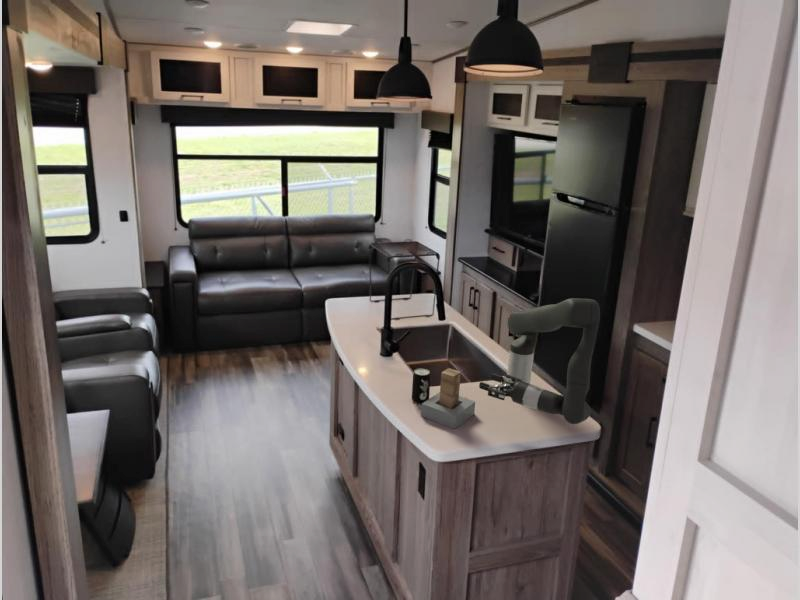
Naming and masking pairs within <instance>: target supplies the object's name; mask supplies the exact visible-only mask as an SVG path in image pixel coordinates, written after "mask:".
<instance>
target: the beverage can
mask: <svg viewBox="0 0 800 600" xmlns="http://www.w3.org/2000/svg"><path fill="white" fill-rule="evenodd" d="M431 378H432V377H431V374H430V370H429V369H427V368H426V369H425V368H421V367H420V368H416V369H414V370H413V374H412V383H411V384H412V388H411V401H412V402H413V403H415V404H419V405H422V403H424V402H425V401H427V400H428V399H430V394H431V393H430V391H431Z"/></svg>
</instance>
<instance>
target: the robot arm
mask: <svg viewBox="0 0 800 600" xmlns="http://www.w3.org/2000/svg"><path fill="white" fill-rule="evenodd" d="M600 318H601V310H600V304H599V302H598V301H597V300H595V299H592V298H577V297H576V298H575V297H572V298H567V299H565V300H562V301H560V302H558V303H556V304H553V303H552V304H546V305H542V306H539V307H535V308H531V309H529V310H520V311H519V310H518V311H517V310H516V311H513V312H512V313H511V314H509V316H508V318H507V328H508V330H509V332H510V333H511V334H512V335H514V336H519V337H518V338H516V339H515V340H512V342H511V343H510V346H509V354H508V355H509V356H508V364H507V373H506V375H502V376H501V375H499V374H496V373H492V374H491V378H490V379H491V381H494V382H497V383H496V384H495V385H494V384H489V383H486V382H483V381H481V382H479V385H478V387H479V388H478V389H481V390H484V391H487V396H488V397H491V398H494V399H496V400H497V399H498V400H500V401H505V399H506V397H509V398H510V399H511V401H512V403H513V402H514V403H516V404H519V405H521V406H524V407H527V408H530V409H533V410H538V411H540V412H543V413H546V414H550V415H560V416H562V417H563V419H564V420H565V421H566V422H567V423H568V424H571V425H578V424H580V423H583V422H584V421H586V420H587V419H589V418H590V416H591V412H592V411H591V407H590V406H589V404H588V403H587V402H586V397H587V393H588V392H589V390H590V383H591V382H590V380H591V367H592V366H591V365H592V360H593V359H592V358H593V353H594V348H595V344H596V340H597V335H598V330H599V325H600ZM562 327H569V328H582V330H583V332H582V337H581V340H580V343H579V344H578V346H577V348H576V349H575V351H574V353H573V354H572V356H571V357H570V359H569V362H568V364H567V370H566V371H567V372H566V389H565V393H564V395H562V394H558V393H556V392H553V391H550V390H548V389H545V388H542V387H541V386H538V385H535V384H532V383H531V380H532V370H533V362H534V356H535V355H534V353H535V348H536V346H537V341H538V336H539V333H548V332H549V333H550V332H555V331H557V330H560V329H561V328H562ZM499 383H500V384H499Z"/></svg>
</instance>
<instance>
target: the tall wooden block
mask: <svg viewBox="0 0 800 600" xmlns="http://www.w3.org/2000/svg"><path fill="white" fill-rule="evenodd" d="M440 375H441V376H440V386H439V388H440V389H439V392H440V399H439V405H441V406H444V407H446V408H449V409H452V410H453V409H454V408H455V407H457V406H458V400H459V396H460V385H461V371H459V370H456V369H453V368H450V367H448V368H446V369H445V370H443V371H441V374H440Z"/></svg>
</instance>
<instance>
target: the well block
mask: <svg viewBox="0 0 800 600" xmlns="http://www.w3.org/2000/svg"><path fill="white" fill-rule="evenodd" d="M439 399H440V391H439V392H437V393H436V394H435V395H433V396H431V397H429V399H428V400H427V401H425V402H424V403H422V404H421V414H420V416H421V417H422V418H425V419H427V420H430V421H433V422H435V423H438V424H441V425H444V426H446V427H448V428H452V429H457V428H458V427H459V426H460V425H462V424H463V423H465V422H466V421H468V419H470V418H471V417H472V416H474V415H475V411H476V401H475V400H471V399H469V398H466V397H463V396H460V395H459V400H458V406H457V407H455V408H454V409H453V410H452V409H449V408H446V407H444V406H441V405H439ZM469 417H470V418H469Z"/></svg>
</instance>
